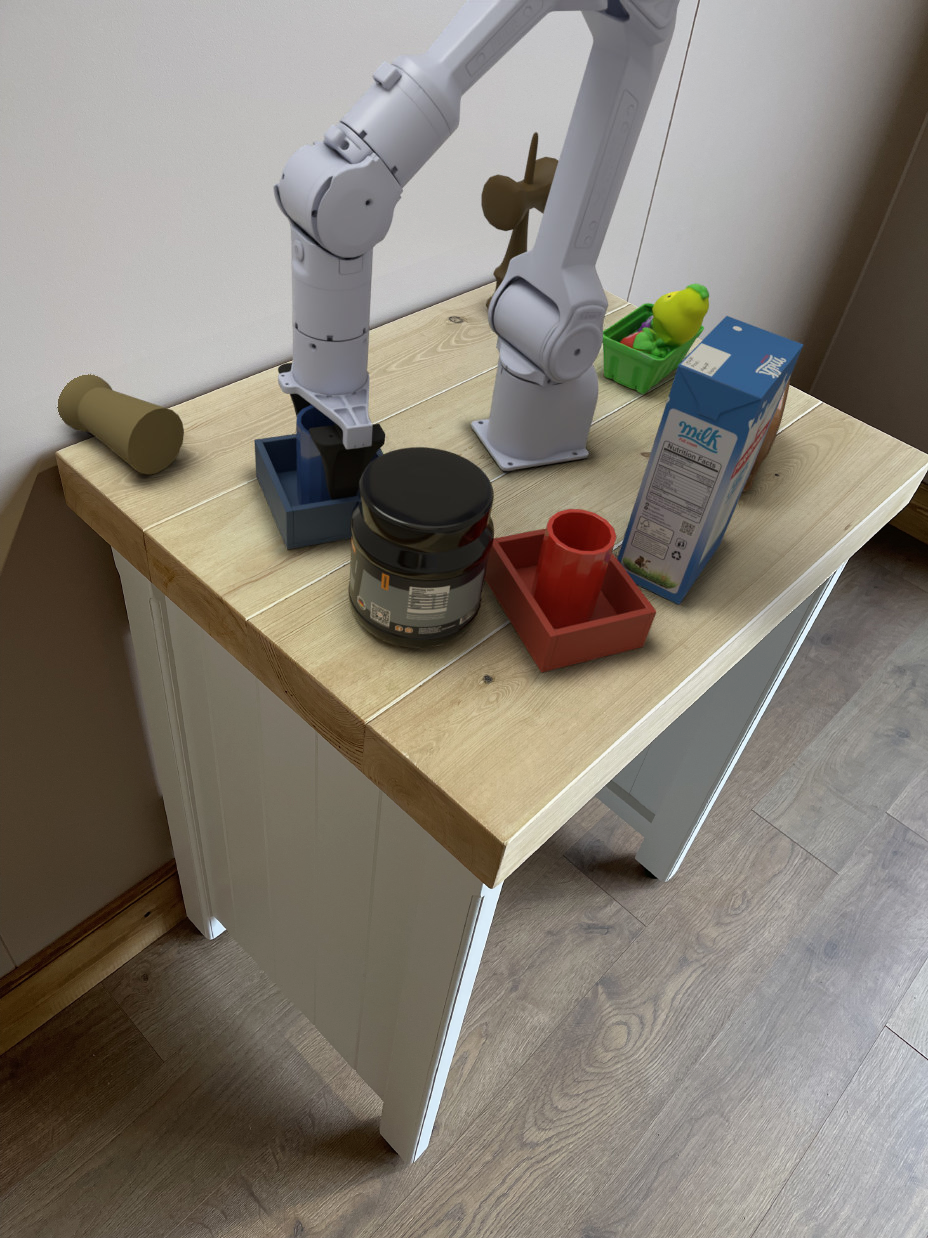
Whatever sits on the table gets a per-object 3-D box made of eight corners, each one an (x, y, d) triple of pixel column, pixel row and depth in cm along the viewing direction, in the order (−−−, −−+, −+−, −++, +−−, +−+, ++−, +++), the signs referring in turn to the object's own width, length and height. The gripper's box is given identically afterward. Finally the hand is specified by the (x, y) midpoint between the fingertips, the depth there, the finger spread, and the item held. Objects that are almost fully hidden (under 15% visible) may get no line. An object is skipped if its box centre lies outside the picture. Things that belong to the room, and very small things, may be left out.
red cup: (586, 585, 76) (608, 510, 71) (598, 630, 73) (622, 555, 67) (525, 583, 76) (542, 507, 70) (534, 629, 72) (553, 553, 66)
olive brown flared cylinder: (126, 418, 75) (40, 370, 79) (129, 483, 79) (46, 434, 83) (183, 400, 79) (99, 356, 84) (184, 462, 83) (103, 417, 87)
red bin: (578, 555, 80) (587, 519, 77) (643, 646, 73) (657, 611, 70) (481, 575, 76) (488, 538, 74) (541, 672, 70) (550, 636, 67)
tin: (738, 423, 98) (765, 352, 92) (767, 432, 97) (796, 361, 91) (714, 501, 88) (743, 426, 82) (746, 511, 87) (778, 437, 81)
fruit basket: (635, 340, 108) (661, 246, 100) (703, 370, 105) (735, 275, 97) (587, 376, 101) (611, 277, 93) (658, 409, 98) (689, 310, 90)
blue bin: (364, 460, 86) (366, 423, 83) (402, 528, 79) (406, 492, 77) (256, 476, 82) (254, 439, 79) (287, 549, 76) (286, 512, 73)
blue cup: (357, 481, 83) (360, 404, 77) (357, 518, 79) (361, 440, 73) (298, 478, 82) (297, 400, 76) (296, 516, 78) (295, 437, 73)
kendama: (550, 310, 111) (586, 132, 97) (501, 334, 105) (530, 149, 91) (512, 291, 113) (541, 115, 99) (461, 313, 108) (484, 130, 94)
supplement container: (415, 544, 78) (428, 424, 70) (506, 612, 74) (532, 493, 65) (319, 599, 72) (320, 476, 64) (411, 677, 68) (426, 555, 59)
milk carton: (678, 605, 77) (761, 397, 63) (612, 573, 79) (678, 364, 64) (720, 544, 83) (804, 343, 69) (658, 516, 85) (727, 314, 71)
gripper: (253, 281, 72) (260, 428, 81) (306, 379, 63) (307, 531, 72) (340, 274, 74) (337, 418, 84) (403, 368, 65) (391, 516, 75)
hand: (328, 470), depth 78 cm, fingers open, 7 cm apart
